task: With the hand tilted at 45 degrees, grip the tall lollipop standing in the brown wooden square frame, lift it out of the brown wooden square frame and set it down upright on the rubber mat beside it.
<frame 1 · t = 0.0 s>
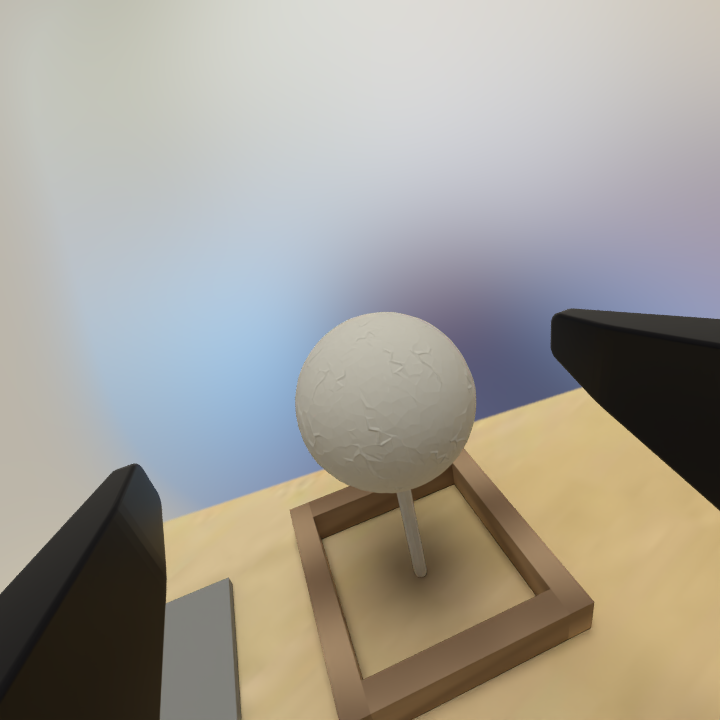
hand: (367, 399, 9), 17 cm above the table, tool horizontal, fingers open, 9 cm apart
brown wooden square frame: (420, 571, 23), on the table
lollipop: (421, 573, 23), on the table
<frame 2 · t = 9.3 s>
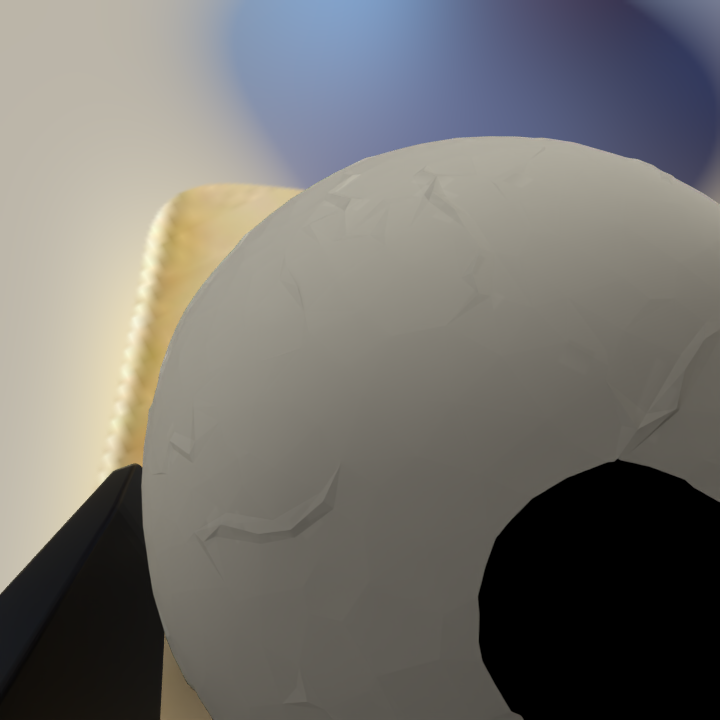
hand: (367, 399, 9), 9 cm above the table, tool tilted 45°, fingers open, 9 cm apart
lollipop: (364, 480, 17), on the table, touching mat
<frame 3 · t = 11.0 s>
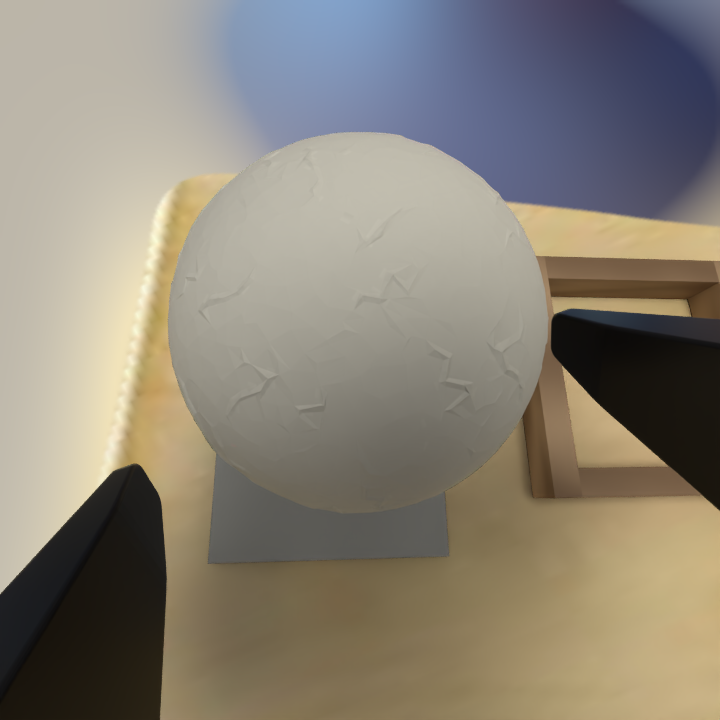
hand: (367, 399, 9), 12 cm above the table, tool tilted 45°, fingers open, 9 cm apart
brown wooden square frame: (626, 378, 22), on the table
mat: (331, 418, 20), on the table
lollipop: (335, 418, 20), on the table, touching mat
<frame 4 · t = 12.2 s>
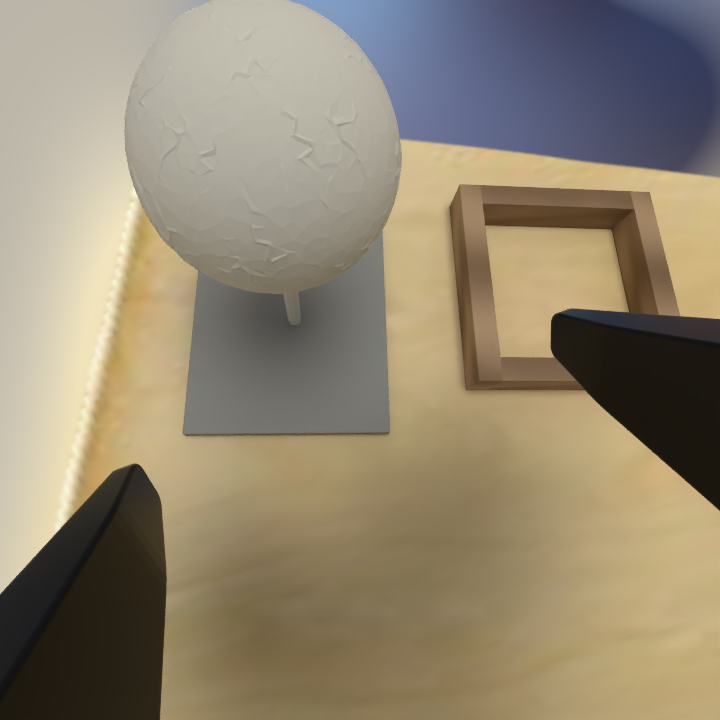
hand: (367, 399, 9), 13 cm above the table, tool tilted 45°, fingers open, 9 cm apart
brown wooden square frame: (553, 293, 25), on the table
mat: (292, 322, 23), on the table
lollipop: (294, 321, 23), on the table, touching mat
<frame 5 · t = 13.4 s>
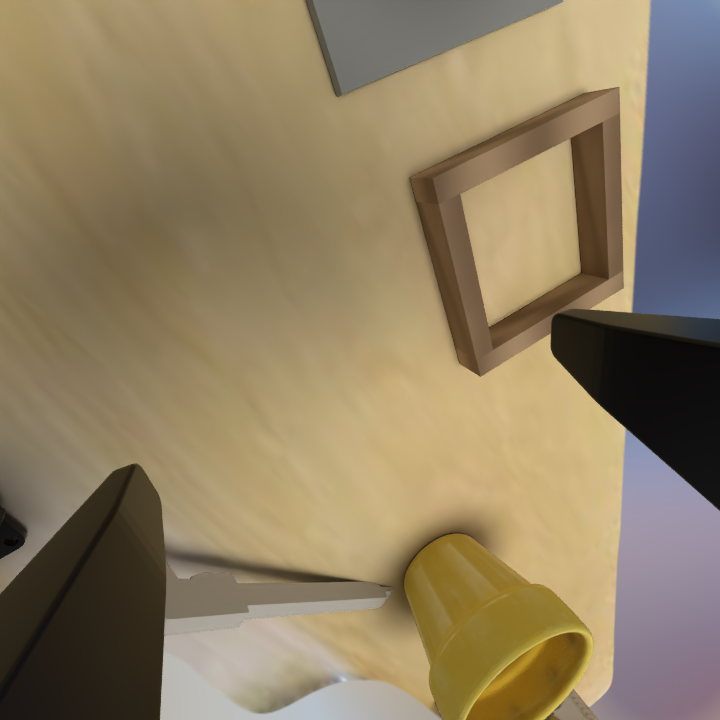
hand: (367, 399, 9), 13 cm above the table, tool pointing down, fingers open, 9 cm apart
brown wooden square frame: (518, 237, 25), on the table
decorative jar: (489, 685, 46), on the table
plant pot: (437, 565, 34), on the table
caliper: (272, 565, 27), on the table
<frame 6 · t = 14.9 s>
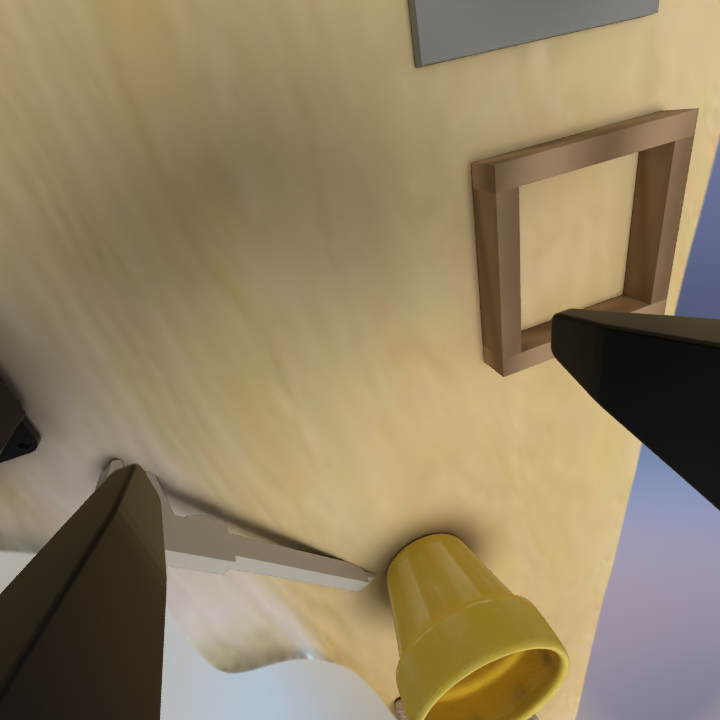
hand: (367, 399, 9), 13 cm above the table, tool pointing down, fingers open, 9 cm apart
brown wooden square frame: (566, 245, 25), on the table
plant pot: (423, 562, 34), on the table
caliper: (263, 526, 27), on the table
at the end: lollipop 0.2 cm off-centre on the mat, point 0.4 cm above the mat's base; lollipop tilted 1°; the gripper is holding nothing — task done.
